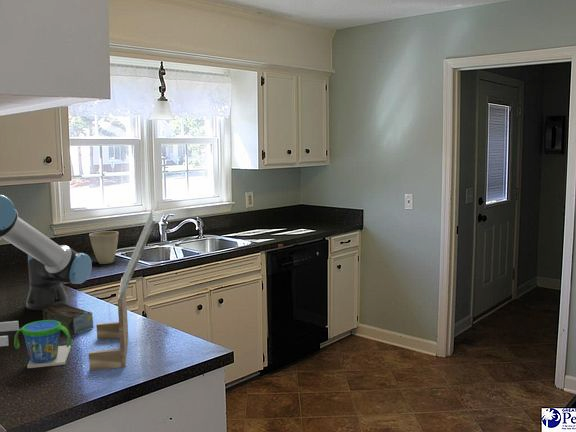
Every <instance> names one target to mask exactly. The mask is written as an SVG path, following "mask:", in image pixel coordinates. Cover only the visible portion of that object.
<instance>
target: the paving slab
mask: <svg viewBox="0 0 576 432" xmlns="http://www.w3.org/2000/svg"><path fill="white" fill-rule="evenodd" d="M71 348H72V346H71V344H70V346H69V347H68V348H67V344H66V345H58V354H57V357H56V358H54V359H53V360H50V361H48V362H44V361H43V362H32V361H31V360H30V359H29V361H28V364H27V366H26V367H27V369H33V368H34V369H35V368H44V367H52V366H53V367H55V366H63V365H66V362H67V359H68V357H69V354H70V351H71Z"/></svg>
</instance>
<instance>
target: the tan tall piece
mask: <svg viewBox="0 0 576 432" xmlns="http://www.w3.org/2000/svg"><path fill="white" fill-rule="evenodd" d="M155 213H156V212H155V210H154V209H151V210H150V213H149V215H148V218H147V220H146V222H145V223H144V227H143V229H142V231H141V232H140V233H141V234H140V235H139V239H138V240H137V242H136V245H135V248H134V249H133V252H132V254H131V257H130V259H129V261H128V264H127V265H126V268H125V270H124V273H123V275H122V276H121V279H120V284H119V290H118V295H117V309H118V310H117V312H118V321H114V322H113V321H112V322H111V321H110V322H100V323H96V339H101V340H110V339H109V338H113V339H119V348H115V349H114V348H113V349H105V350H104V349H103V350H94V351H93V350H92V351H89V352H88V362H89V363H88V364H89V371H97V370H98V371H99V370H100V371H101V370H108V369H117V368H125V367H127V366H126V364H127V354H128V343H129V322H128V306H127V305H128V301H127V299H128V298H127V288H128V286H129V284H130V281H131V279H132V277H133V275H134V272H135V270H136V268H137V265H138V263H139V261H140V258H141V256H142V254H143V251H144V249H145V247H146V244H147V243H148V240H149V238H150V235H151V234H152V232H153V231H152V230H153V229H154V227H155V224H156V215H155Z"/></svg>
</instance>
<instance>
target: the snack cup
mask: <svg viewBox="0 0 576 432" xmlns="http://www.w3.org/2000/svg"><path fill="white" fill-rule="evenodd" d="M20 332H21V333H22V335H23V336H24V337H23V338H24V341H25V345H26V350H27V355H28V358H29V361H30V360H31V361H32V362H43V361H44V362H48V361H50V360H53V359H54V358H56V357H57V354H58V346H60V345H59V344H60V335H61V332H63V333H64V335H65V336H66V337H67V342H66V345H67V348H68V347H69V346H70V345H71V341H72V338H71V333H70V332H69V331H68V330H67V328H66V327H64V326H62V325H61V323H60V322H59V321H55V320H43V319H42V320H37V321H32V322H29V323H27V324H25V325H23V326H22V327H20V328H19V330H16V332H15V335H14V336H13V337H14V339H13V346H14V348H15V350H18V349H19V348H20V345H21V344H20V340H19V338H18V337H19V333H20Z"/></svg>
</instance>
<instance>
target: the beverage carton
mask: <svg viewBox="0 0 576 432" xmlns="http://www.w3.org/2000/svg"><path fill="white" fill-rule="evenodd" d="M41 313H42V320H55V321H59V322H60V323H61V325H62V326H64V327H66V328H67V330H68V331H69V333H70V332H71V333H70V334H73V333H74V335H76V333H77V334H79V333H78V332H80V333H82V332H81V331H83V332H85V331H84V330H86V331H88V329H89V330H92V329H94V320H93V319H94V317H93V312H91V311H88V310H85V309H81V308H78V307H75V306H72V305H69V304H62V303H60V304H57V305H53V306H50V307H46V308H43V309H42V310H41ZM91 328H92V329H91Z"/></svg>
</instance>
